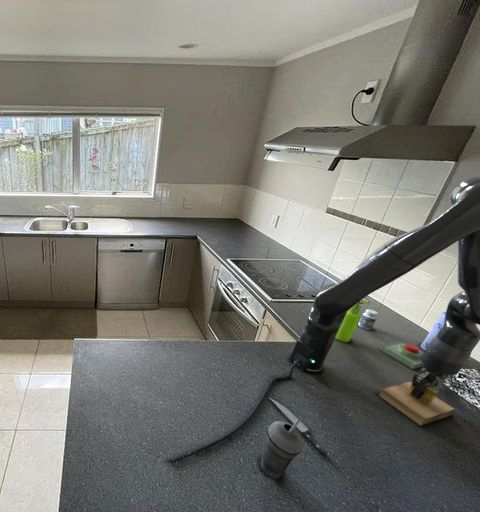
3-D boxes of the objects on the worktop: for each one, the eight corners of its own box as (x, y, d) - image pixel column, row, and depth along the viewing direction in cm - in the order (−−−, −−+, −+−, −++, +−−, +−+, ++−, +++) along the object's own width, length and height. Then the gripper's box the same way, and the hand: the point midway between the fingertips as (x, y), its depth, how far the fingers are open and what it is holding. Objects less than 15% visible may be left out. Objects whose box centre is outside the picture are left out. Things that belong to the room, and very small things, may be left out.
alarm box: (412, 369, 106) (418, 361, 104) (382, 351, 115) (386, 343, 113) (431, 364, 109) (437, 356, 107) (400, 347, 118) (404, 339, 116)
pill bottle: (359, 327, 129) (367, 312, 126) (356, 322, 133) (363, 307, 130) (372, 331, 127) (380, 315, 124) (369, 325, 131) (376, 310, 128)
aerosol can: (452, 355, 114) (480, 314, 106) (442, 359, 111) (471, 318, 104) (425, 342, 121) (450, 303, 113) (416, 346, 118) (441, 306, 110)
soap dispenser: (345, 344, 118) (364, 304, 110) (328, 334, 124) (346, 295, 116) (355, 342, 119) (375, 302, 111) (338, 332, 125) (356, 294, 118)
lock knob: (429, 404, 88) (439, 391, 86) (426, 405, 87) (435, 392, 85) (409, 391, 92) (418, 378, 90) (406, 392, 92) (414, 379, 90)
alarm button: (413, 354, 108) (415, 350, 108) (402, 348, 112) (404, 344, 111) (419, 352, 109) (421, 349, 109) (408, 346, 112) (410, 343, 112)
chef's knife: (275, 396, 92) (268, 397, 92) (276, 394, 92) (269, 395, 91) (332, 455, 75) (323, 457, 74) (334, 453, 75) (325, 455, 74)
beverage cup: (275, 453, 75) (299, 400, 67) (294, 484, 69) (323, 429, 61) (249, 453, 75) (270, 400, 67) (265, 484, 68) (290, 430, 60)
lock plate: (420, 425, 84) (425, 418, 83) (378, 395, 94) (382, 388, 93) (450, 415, 88) (455, 408, 87) (406, 387, 98) (411, 380, 96)
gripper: (449, 368, 78) (418, 411, 85) (477, 359, 82) (445, 401, 89) (415, 349, 85) (388, 391, 91) (442, 342, 88) (415, 382, 95)
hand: (417, 395), depth 90 cm, fingers closed on lock knob, 2 cm apart
